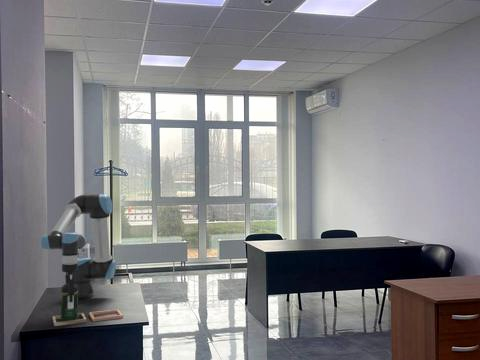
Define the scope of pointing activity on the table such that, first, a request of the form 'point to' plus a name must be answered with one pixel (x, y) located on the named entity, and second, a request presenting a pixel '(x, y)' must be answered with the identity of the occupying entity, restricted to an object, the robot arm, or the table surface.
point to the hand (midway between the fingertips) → (69, 305)
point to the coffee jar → (65, 312)
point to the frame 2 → (106, 316)
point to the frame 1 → (69, 321)
